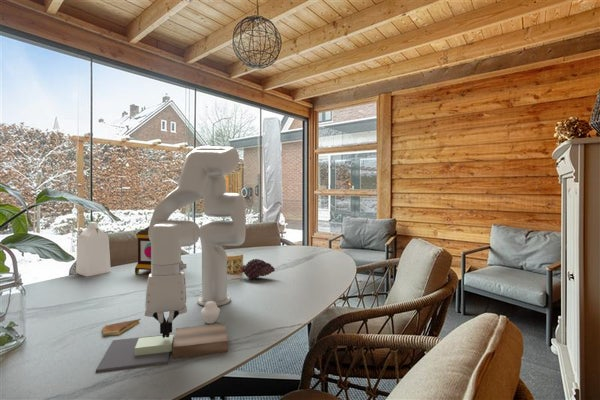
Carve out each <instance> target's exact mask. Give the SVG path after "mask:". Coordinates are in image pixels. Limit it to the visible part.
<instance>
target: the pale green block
mask: <svg viewBox="0 0 600 400" xmlns="http://www.w3.org/2000/svg"><path fill="white" fill-rule="evenodd" d="M172 334H173V335H169V337H165V338H163V336H157V335H153V336H154V337H148V336H143V337H144V338H139V339H138V342H137V344H136V346H135V356H137V355H145V354H154V353H162V352H170V353H171V352H173V343H174V337H175V333H172Z"/></svg>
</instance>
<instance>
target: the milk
mask: <svg viewBox="0 0 600 400" xmlns="http://www.w3.org/2000/svg"><path fill="white" fill-rule="evenodd" d="M87 226H88V227H86V228H85V230H83V231H82V232H81V233H80V234H79V235H78V236H77V244H76V246H77V247H76V266H75V274H78V275H81V276H84V277H92V276H97V275H102V274H107V273H112V268H111V253H110V252H111V251H110V237H109V236H108V234H106V233H105V232H104V231H103V230H102V229H101V228H100V227H99V225H98V222H95V221H89V222H88V225H87Z"/></svg>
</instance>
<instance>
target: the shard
mask: <svg viewBox="0 0 600 400" xmlns="http://www.w3.org/2000/svg"><path fill="white" fill-rule="evenodd" d="M140 321H141V318H138V319H133V320H127V321H122V322H116V323H110V324H107V325H104V326H102V333H103V334H102V335H103V337H106V336H120V335H122V334H123V333H124V332H126V331H127V330H129V329H131V328H133V327H134V326H137V324H139V323H140Z"/></svg>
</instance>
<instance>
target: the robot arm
mask: <svg viewBox="0 0 600 400" xmlns="http://www.w3.org/2000/svg"><path fill="white" fill-rule="evenodd" d="M239 162H240V154H239V152H238V150H237V149H236V148H235V147H233V146H199V147H198V146H197V147H195V148H194V149H192V151H190V152H189V153H187V154H186V156H185V159H184V163H183V167H182V168H181V173H180V176H179V179H178V182H177V186H176V187H175V189H174V190H172V191H171V192H170V193H168V194H167V195H166V196H165V197H163V199H161V200H160V202H159V203H158V204H157V205H156V206H155V208H154V210H153V213H152V216H151V218H150V222H149V230H148V236H149V240H150V241H151V270H150V273H149V274H148V277H147V282H146V291H145V302H144V303H145V304H144V305H145V306H144V308H145V312H144V316H145V317H148V318H154V320H156V321H158V324H159V335H163V338H165V337H169V334H173V321H174V320H175V319H176V318H177V317H178V316H179V315H182V314H186V313H187V312H188V309H187V304H186V303H187V284H186V277H185V272H184V271H183V270H184V269H185V270H186V269H187V263H184V262H183V263H181V260H182V248H184V247H191V246H193V245H195V244H196V243H197V242H198V241H199V239H200V245H201V296H200V297H198V298H197V304H199V305H200V306H203V307H204V306H205V304H206V303H207V302H208V301H214V302H215V303H216V305H217V307H220V306H224V305H227V304H229V303H230V302H231V301H232V296H230V294H228V255H227V253H226V251H225V249H224V247H223V246H231V247H233V246H234V247H238V246H241V245H243V244H244V243H245V239H246V230H247V229H246V220H247V219H246V218H247V217H246V213H247V211H246V209H247V208H246V202H245V201H246V200H245V197H244V196H243V195H242V194H241V193H239V192H238V193H237V192H227V182H226V181H227V180H226V177H225V176H228V175H230V173H232V172H233V171H235V170H236V169H237V167H238V166H239ZM202 198H203V199H202ZM199 200H203V201H202V202H203V212H204V214H205V215H206V216H207V217H210V218H230V219H231V220H207V221H205V222H203V223H202V224H201V225H200V226H199V224H197V222H194V221H191V220H177V219H172V220H171V219H169V218H170V217H171V215H172V214H174V213H175V212H176V211H177V210H179V209H181V208H183V207H186V206H188V205H190V204H193V203H195V202H198V201H199ZM165 312H168V317H167V319H166V317H165Z"/></svg>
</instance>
